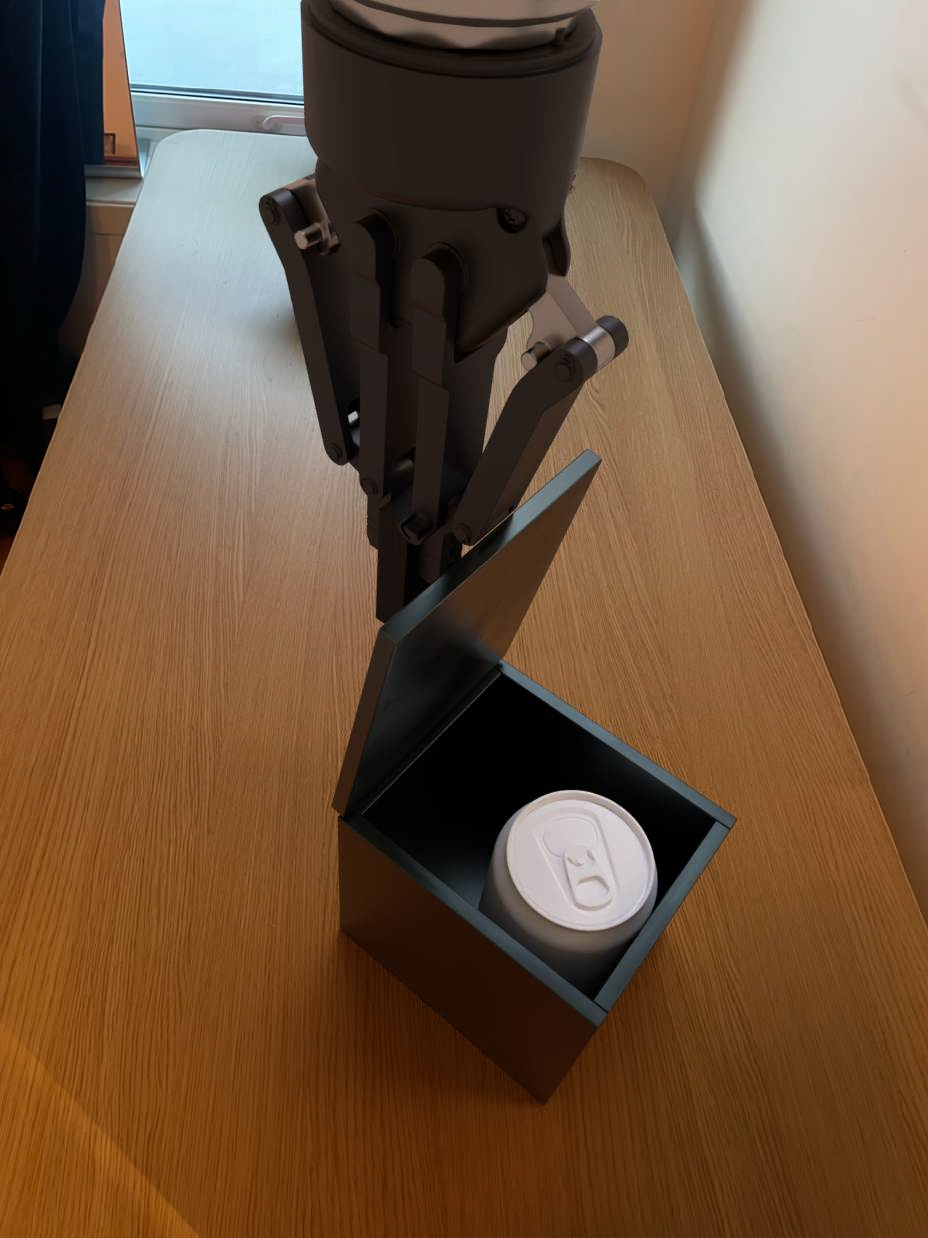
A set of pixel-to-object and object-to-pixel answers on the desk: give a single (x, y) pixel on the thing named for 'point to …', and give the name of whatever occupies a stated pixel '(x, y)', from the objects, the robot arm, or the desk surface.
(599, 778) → the trash bin
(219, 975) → the desk surface
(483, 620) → the bin lid
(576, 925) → the beverage can
